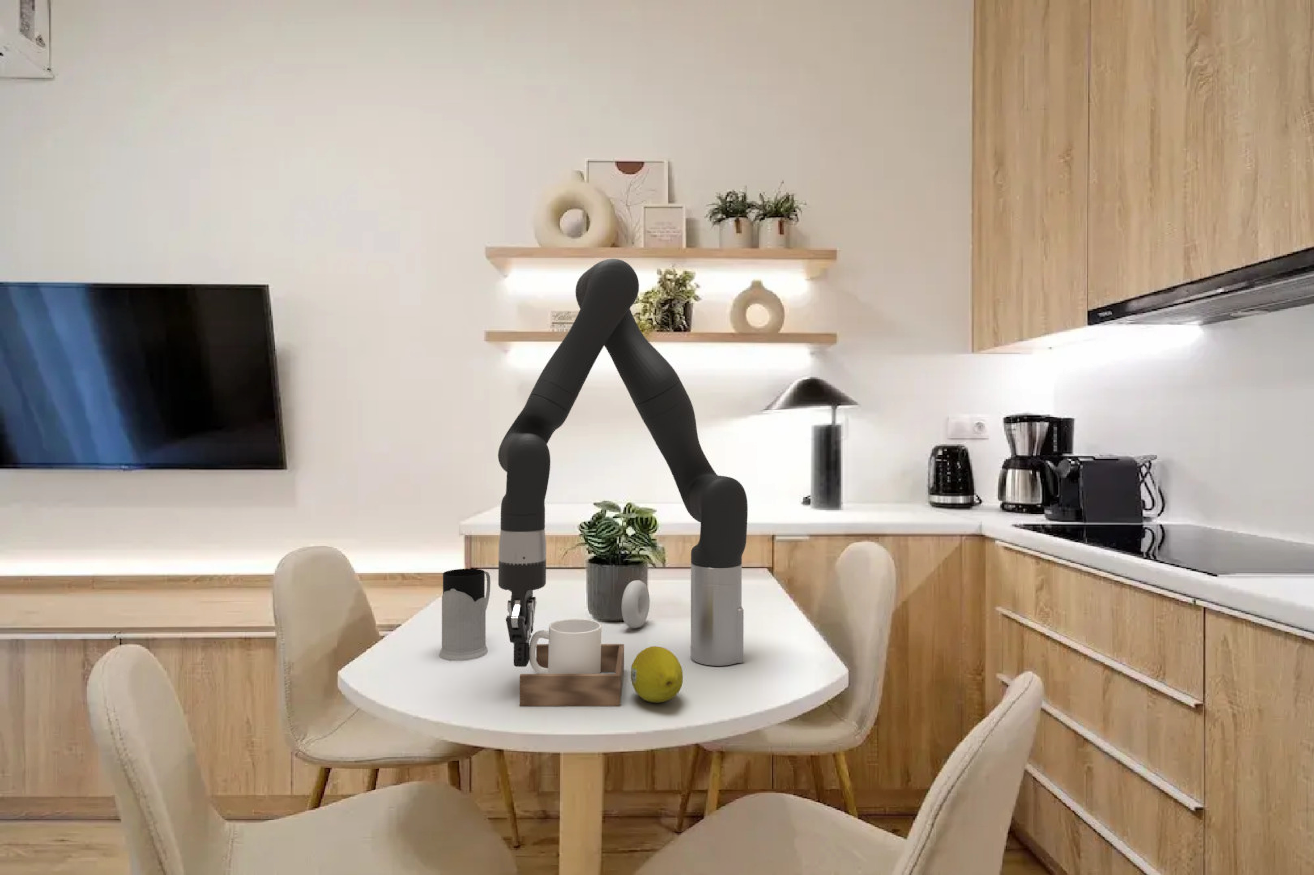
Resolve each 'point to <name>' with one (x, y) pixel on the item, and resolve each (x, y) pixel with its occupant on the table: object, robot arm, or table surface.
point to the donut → (635, 604)
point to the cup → (570, 647)
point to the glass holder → (464, 614)
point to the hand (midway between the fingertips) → (521, 665)
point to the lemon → (656, 674)
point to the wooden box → (575, 682)
